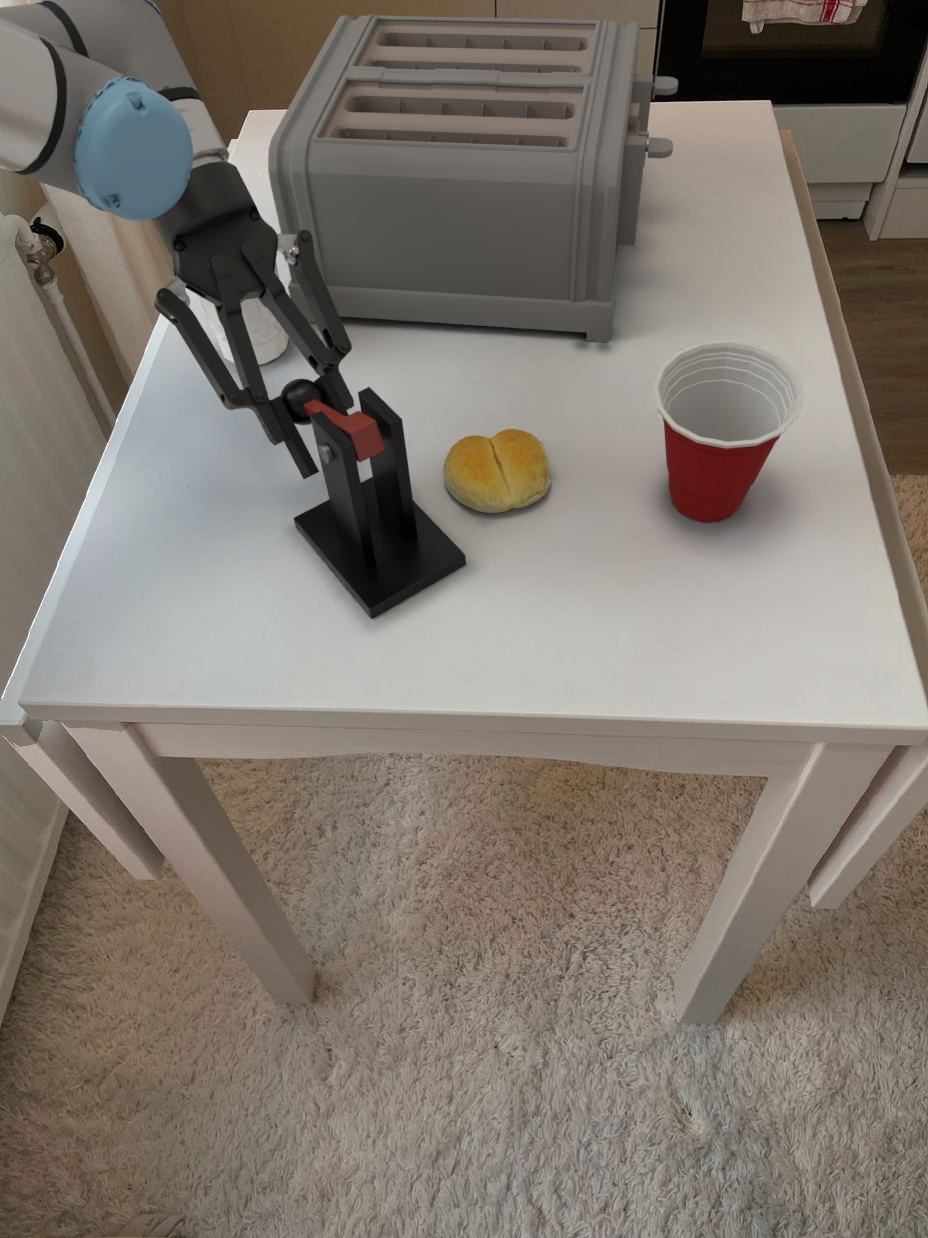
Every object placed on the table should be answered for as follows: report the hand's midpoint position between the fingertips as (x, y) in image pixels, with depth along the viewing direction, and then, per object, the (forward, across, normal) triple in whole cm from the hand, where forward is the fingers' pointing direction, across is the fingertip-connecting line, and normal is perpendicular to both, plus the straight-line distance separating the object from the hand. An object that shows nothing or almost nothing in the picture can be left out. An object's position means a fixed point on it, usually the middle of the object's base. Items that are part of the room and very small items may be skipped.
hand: (334, 463), depth 77 cm
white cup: (-13, +4, +21) cm, 25 cm away
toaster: (-13, +32, +20) cm, 40 cm away
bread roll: (+8, +12, 0) cm, 14 cm away
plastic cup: (+16, +24, -9) cm, 31 cm away
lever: (-2, 0, -3) cm, 4 cm away
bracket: (+7, 0, 0) cm, 8 cm away
